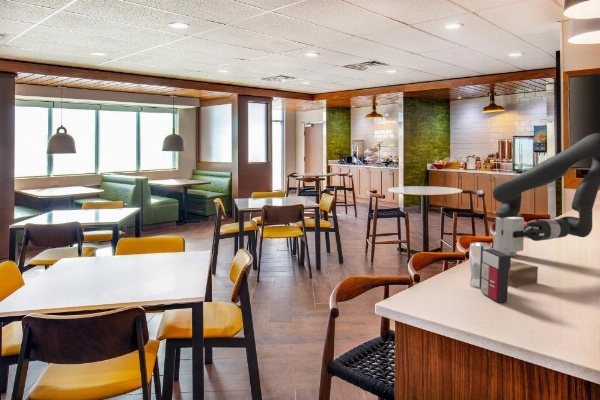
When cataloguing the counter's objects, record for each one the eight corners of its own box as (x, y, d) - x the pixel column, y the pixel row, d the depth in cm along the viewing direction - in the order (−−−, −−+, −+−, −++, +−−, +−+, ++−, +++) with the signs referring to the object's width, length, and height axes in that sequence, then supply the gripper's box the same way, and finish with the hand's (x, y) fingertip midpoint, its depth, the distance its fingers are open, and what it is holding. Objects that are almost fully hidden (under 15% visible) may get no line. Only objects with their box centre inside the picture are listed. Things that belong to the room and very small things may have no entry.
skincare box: (513, 252, 164) (513, 219, 163) (502, 250, 168) (502, 217, 167) (524, 250, 167) (525, 217, 166) (513, 248, 171) (514, 216, 170)
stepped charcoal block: (479, 292, 155) (480, 249, 154) (491, 292, 156) (493, 248, 154) (496, 303, 144) (497, 256, 143) (509, 302, 145) (511, 255, 143)
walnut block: (486, 279, 172) (486, 263, 171) (509, 275, 177) (509, 259, 176) (513, 287, 161) (514, 270, 160) (537, 283, 166) (537, 266, 165)
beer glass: (488, 283, 165) (490, 242, 164) (490, 289, 159) (491, 246, 157) (468, 282, 168) (469, 241, 166) (468, 287, 161) (469, 245, 160)
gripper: (528, 217, 178) (493, 220, 172) (560, 222, 165) (523, 226, 159) (527, 236, 179) (492, 240, 173) (559, 243, 165) (523, 247, 160)
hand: (507, 233), depth 166 cm, fingers closed on skincare box, 4 cm apart
